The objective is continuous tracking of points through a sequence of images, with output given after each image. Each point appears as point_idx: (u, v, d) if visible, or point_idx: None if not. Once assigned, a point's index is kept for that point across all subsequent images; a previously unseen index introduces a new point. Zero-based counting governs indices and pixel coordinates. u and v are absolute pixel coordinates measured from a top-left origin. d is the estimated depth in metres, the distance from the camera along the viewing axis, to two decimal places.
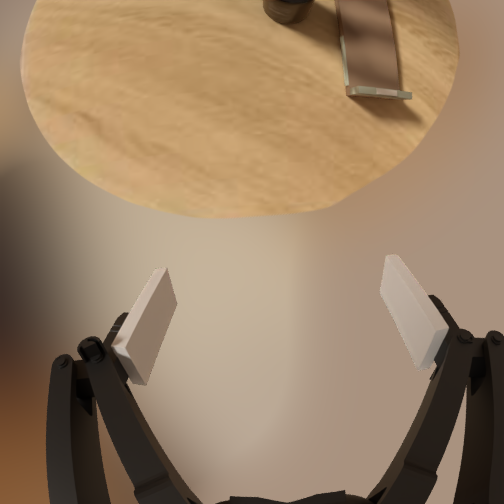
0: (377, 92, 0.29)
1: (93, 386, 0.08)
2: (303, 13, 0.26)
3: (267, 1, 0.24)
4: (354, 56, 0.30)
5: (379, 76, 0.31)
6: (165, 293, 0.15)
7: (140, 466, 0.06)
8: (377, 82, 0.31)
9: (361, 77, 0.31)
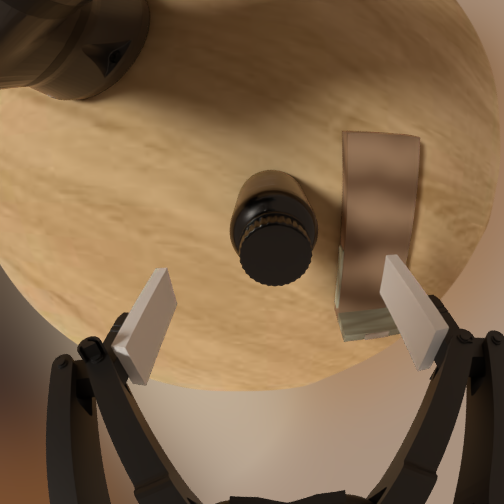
0: (365, 337, 0.29)
1: (93, 386, 0.08)
2: None
3: None
4: (352, 278, 0.30)
5: (377, 294, 0.31)
6: (165, 293, 0.15)
7: (140, 466, 0.06)
8: (373, 301, 0.32)
9: (354, 300, 0.32)
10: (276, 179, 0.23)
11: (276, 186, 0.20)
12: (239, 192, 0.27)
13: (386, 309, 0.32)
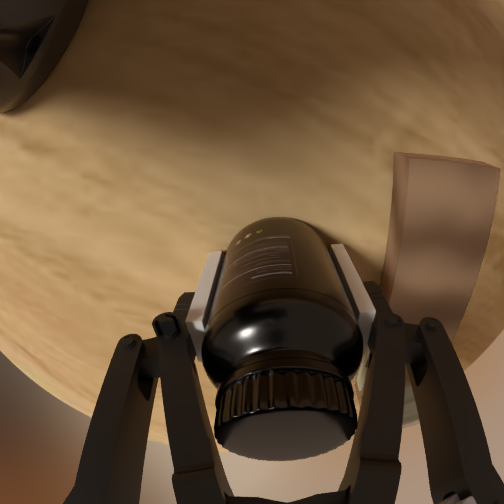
0: None
1: (160, 362, 0.10)
2: None
3: None
4: None
5: None
6: None
7: (187, 451, 0.06)
8: (406, 379, 0.21)
9: None
10: (289, 250, 0.12)
11: (291, 280, 0.10)
12: None
13: None
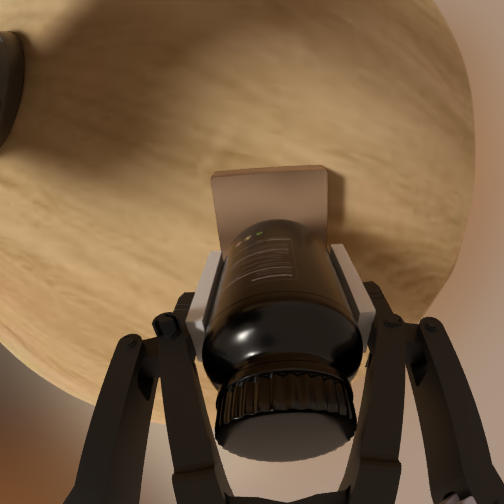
0: None
1: (160, 362, 0.10)
2: None
3: None
4: None
5: None
6: None
7: (187, 451, 0.06)
8: None
9: None
10: (289, 252, 0.12)
11: (291, 282, 0.10)
12: (225, 257, 0.16)
13: None
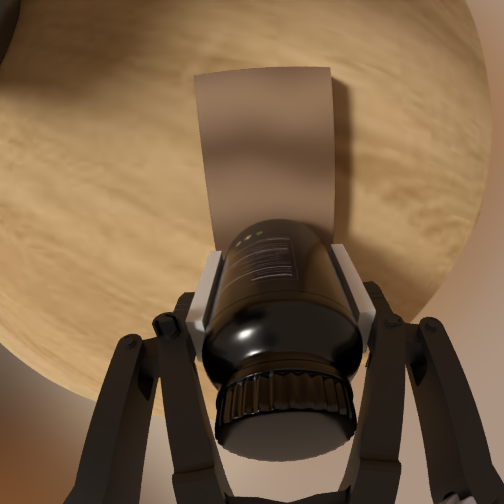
0: None
1: (160, 362, 0.10)
2: None
3: None
4: None
5: None
6: None
7: (187, 451, 0.06)
8: None
9: None
10: (289, 252, 0.12)
11: (291, 282, 0.10)
12: (225, 257, 0.16)
13: None
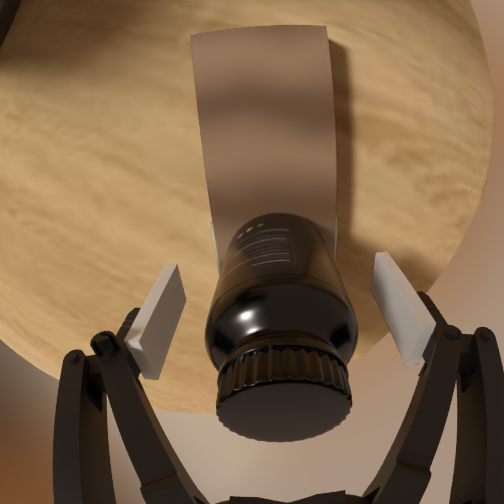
0: None
1: (105, 381, 0.09)
2: None
3: None
4: None
5: None
6: (175, 289, 0.16)
7: (148, 463, 0.06)
8: None
9: None
10: (288, 241, 0.13)
11: (289, 266, 0.11)
12: (227, 249, 0.17)
13: None
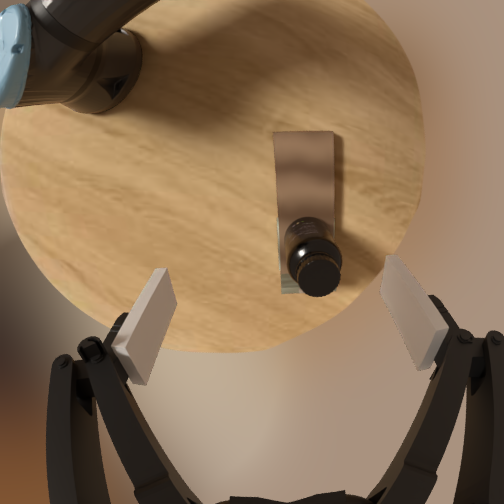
0: (299, 291, 0.39)
1: (93, 386, 0.08)
2: None
3: None
4: None
5: None
6: (165, 293, 0.15)
7: (140, 466, 0.06)
8: None
9: None
10: (315, 226, 0.34)
11: (317, 233, 0.32)
12: (286, 232, 0.38)
13: None
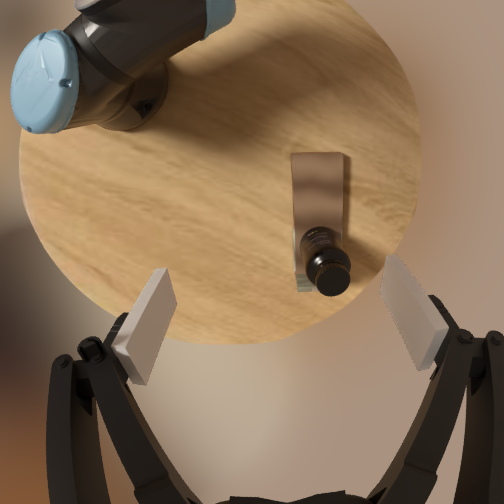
0: (312, 290, 0.46)
1: (93, 386, 0.08)
2: None
3: None
4: None
5: None
6: (165, 293, 0.15)
7: (140, 466, 0.06)
8: None
9: None
10: (328, 237, 0.41)
11: (331, 244, 0.38)
12: (302, 240, 0.45)
13: None
